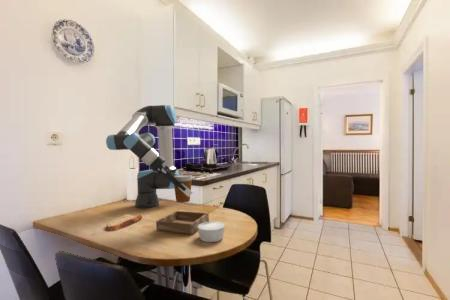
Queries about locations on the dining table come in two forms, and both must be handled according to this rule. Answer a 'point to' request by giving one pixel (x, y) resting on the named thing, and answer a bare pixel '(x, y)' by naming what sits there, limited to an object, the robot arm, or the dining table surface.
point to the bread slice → (122, 222)
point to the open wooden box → (182, 222)
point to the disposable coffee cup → (179, 194)
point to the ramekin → (211, 231)
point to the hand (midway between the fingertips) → (189, 192)
